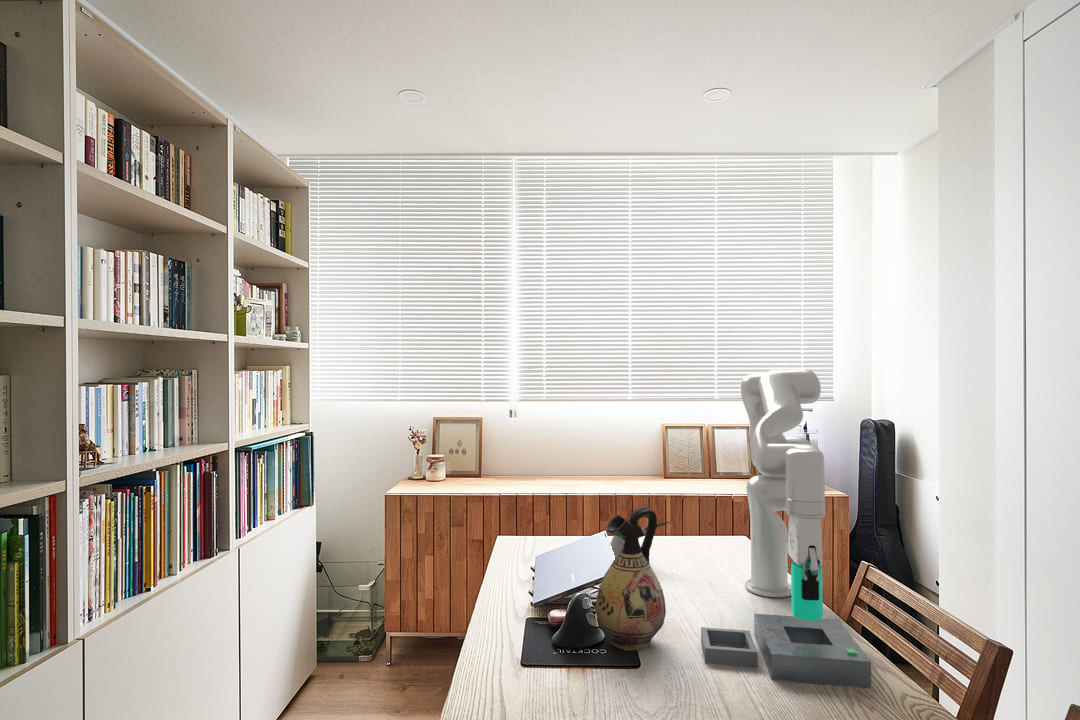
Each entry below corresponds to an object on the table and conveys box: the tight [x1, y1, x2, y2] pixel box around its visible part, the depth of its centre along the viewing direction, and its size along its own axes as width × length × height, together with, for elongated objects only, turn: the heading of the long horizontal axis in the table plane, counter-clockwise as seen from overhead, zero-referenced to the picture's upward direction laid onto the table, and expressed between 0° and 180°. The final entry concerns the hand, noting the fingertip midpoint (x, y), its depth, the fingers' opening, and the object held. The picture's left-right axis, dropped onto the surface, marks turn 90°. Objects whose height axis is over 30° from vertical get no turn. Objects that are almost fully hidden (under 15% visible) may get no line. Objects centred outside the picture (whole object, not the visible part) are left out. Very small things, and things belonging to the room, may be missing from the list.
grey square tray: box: [700, 626, 759, 668], centre depth 128 cm, size 10×10×3 cm
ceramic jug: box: [595, 507, 667, 651], centre depth 134 cm, size 17×15×30 cm
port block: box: [753, 613, 872, 689], centre depth 125 cm, size 20×18×6 cm
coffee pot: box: [609, 518, 672, 559], centre depth 188 cm, size 21×12×15 cm, turn 54°
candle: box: [790, 561, 824, 621], centre depth 125 cm, size 6×6×12 cm
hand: (806, 593), depth 125 cm, fingers closed on candle, 5 cm apart
